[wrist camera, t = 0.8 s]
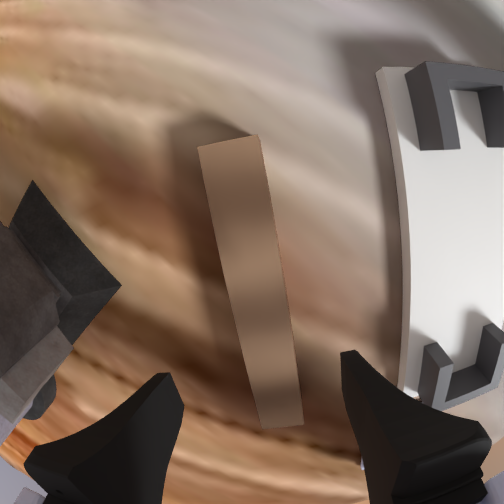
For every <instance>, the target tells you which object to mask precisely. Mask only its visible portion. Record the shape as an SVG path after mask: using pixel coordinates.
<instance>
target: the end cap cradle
mask: <svg viewBox="0 0 504 504" xmlns="http://www.w3.org/2000/svg"><path fill="white" fill-rule="evenodd" d="M375 74H376V78H377V82H378V86H379V90H380V94H381V99H382V103H383V108H384V112H385V117H386V122H387V127H388V133H389V138H390V144H391V150H392V157H393V163H394V170H395V178H396V186H397V195H398V204H399V215H400V228H401V244H402V272H403V309H402V336H401V352H400V365H399V375H398V385H397V388H398V389H400V390H401V391H403V392H404V393H406V394H407V395H409V396H410V397H412V398H413V397H416V396H420V398H421V400H422V402H423V404H425V405H428V406H430V407H432V408H434V409H437V410H439V411H443V410H446V409H449V408H451V407H454V406H456V405H459V404H461V403H464V402H466V401H468V400H471V399H473V398H475V397H478V396H480V395H482V394H484V393H487V392H489V391H491V390H493V389H495V388H497V387H498V385H499V382H500V379H501V376H502V373H503V370H504V332H503V331H502V325H503V320H504V72H503V71H498V70H492V69H487V68H481V67H474V66H467V65H459V64H450V63H440V62H427V61H425V62H423V63H422V64H420V65H418V66H417V67H382V68H381V69H379V70H378V71H377V72H376V73H375Z"/></svg>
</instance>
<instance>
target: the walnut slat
mask: <svg viewBox="0 0 504 504" xmlns="http://www.w3.org/2000/svg"><path fill="white" fill-rule="evenodd" d="M197 149H198V154H199V159H200V164H201V169H202V174H203V179H204V184H205V189H206V194H207V199H208V204H209V209H210V213H211V218H212V223H213V228H214V232H215V237H216V242H217V246H218V251H219V255H220V260H221V264H222V269H223V273H224V278H225V282H226V286H227V291H228V295H229V299H230V304H231V308H232V312H233V316H234V321H235V325H236V329H237V333H238V337H239V341H240V345H241V349H242V353H243V357H244V361H245V365H246V369H247V373H248V377H249V381H250V385H251V389H252V393H253V397H254V400H255V404H256V408H257V412H258V415H259V419H260V423H261V427H262V429H270V428H280V427H289V426H298V425H304V417H303V407H302V397H301V389H300V382H299V374H298V367H297V360H296V353H295V346H294V339H293V332H292V326H291V319H290V312H289V306H288V299H287V293H286V287H285V280H284V274H283V268H282V262H281V256H280V250H279V244H278V238H277V232H276V226H275V220H274V215H273V209H272V203H271V198H270V192H269V186H268V181H267V176H266V170H265V165H264V159H263V154H262V149H261V143H260V139H259V137H258V135H252V136H247V137H241V138H236V139H231V140H226V141H222V142H217V143H212V144H208V145H204V146H199V147H197Z"/></svg>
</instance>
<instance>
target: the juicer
mask: <svg viewBox="0 0 504 504" xmlns="http://www.w3.org/2000/svg"><path fill="white" fill-rule="evenodd" d="M121 286H122V285H121V284H120V283H119V282H118V281H117V280H116V279H115V278H114V277H113V275H112V274H111V273H110V272H109V271H108V270H107V269H106V268H105V267H104V266H103V265H102V264H101V263H100V261H99V260H98V259H97V258H96V257H95V256H94V255H93V254H92V253H91V251H90V250H89V249H88V248H87V247H86V246H85V245H84V243H83V242H82V241H81V240H80V239H79V238H78V236H77V235H76V234H75V233H74V232H73V231H72V229H71V228H70V227H69V226H68V225H67V223H66V222H65V221H64V220H63V218H62V217H61V216H60V215H59V214H58V212H57V211H56V210H55V209H54V207H53V206H52V205H51V203H50V202H49V201H48V200H47V198H46V197H45V196H44V194H43V193H42V192H41V190H40V189H39V188H38V186H37V185H36V184H35V182H34V181H33V180H32V182H31V184H30V185H29V187H28V189H27V191H26V193H25V195H24V197H23V199H22V201H21V203H20V205H19V207H18V209H17V211H16V213H15V215H14V217H13V219H12V221H11V223H10V226H9V228H8V227H4V226H3V224H2V223H1V221H0V446H1V445H2V443H3V442H4V441H5V439H6V438H7V437H8V436H9V434H10V433H11V432H12V430H13V429H14V428H15V427H16V425H17V424H18V423H19V422H20V420H21V419H22V418H25V419H29V420H35V419H38V418H40V417H41V416H42V415H43V413H44V412H45V411H46V410H47V408H48V407H49V406H50V405H51V403H52V402H53V400H54V398H55V397H56V381H55V377H54V373H55V371H56V370H57V369H58V368H59V366H60V365H61V364H62V362H63V361H64V360H65V359H66V357H67V356H68V355H69V354H70V352H71V351H72V350H73V349H74V348H73V346H72V345H73V344H74V342H75V341H76V340H77V338H78V337H79V336H80V335H81V333H82V332H83V331H84V330H85V329H86V327H87V326H88V325H89V324H90V322H91V321H92V320H93V319H94V318H95V316H96V315H97V314H98V313H99V312H100V310H101V309H102V308H103V307H104V306H105V304H106V303H107V302H108V301H109V300H110V299H111V297H112V296H113V295H114V294H115V293H116V292H117V290H118V289H119V288H120V287H121Z"/></svg>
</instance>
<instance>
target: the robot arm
mask: <svg viewBox="0 0 504 504" xmlns="http://www.w3.org/2000/svg"><path fill="white" fill-rule="evenodd" d="M340 356H341V378H342V392H343V397H344V401H345V406H346V410H347V413H348V416H349V419H350V422H351V425H352V428H353V431H354V434H355V437H356V439H357V442H358V445H359V448H360V452H361V456H362V457H361V469H362V470H365V475H366V481H367V487H368V493H369V500H370V504H504V471H503V472H501V473H499V474H497V475H496V476H494V477H492V478H491V479H489V480H488V481H487V482H486V483H485V484H484V483H483V481H482V479H481V478H482V477H483V472H482V470H481V468H480V466H481V465H482V463H483V461H484V460H485V458H486V456H487V455H488V453H489V451H490V448H491V446H492V441H491V439H490V437H489V436H488V434H487V432H486V431H485V429H484V428H483V427H482V426H481V424H480V423H479V422H478V421H474V420H470V419H465V418H461V417H457V416H454V415H450V414H447V413H444V412H442V411H439V410H437V409H434V408H432V407H430V406H428V405H425V404H423V402H419V401H417V400H415V399H414V398H412V397H410V396H409V395H407V394H406V393H404V392H403V391H401V390H400V389H398V388H397V387H396V386H394V385H393V384H392V383H390V382H389V381H388V380H387V379H385V378H384V377H383V376H382V375H381V374H380V373H379V372H377V371H376V370H375V369H374V368H373V367H372V366H371V365H370V364H369V363H368V362H367V361H366V360H365V359H364V358H363V357H362V356H361V355H360V354H359V353H358V351H356V350H351V351H346V352H341V353H340ZM183 411H184V404H183V402H182V399H181V397H180V395H179V393H178V390H177V388H176V386H175V383H174V381H173V378H172V376H171V374H170V373H157V374H156V375H154V376H153V377H152V378H151V379H150V380H149V381H147V382H146V383H145V384H144V385H143V386H142V387H141V388H140V389H139V390H137V391H136V392H135V393H134V394H133V395H132V396H131V397H129V398H128V399H127V400H126V401H125V402H123V403H122V404H121V405H120V406H118V407H117V408H116V409H115V410H113V411H112V412H111V413H109V414H108V415H107V416H105V417H104V418H102V419H100V420H99V421H97V422H96V423H94V424H92V425H91V426H89V427H87V428H85V429H83V430H81V431H79V432H77V433H75V434H72V435H70V436H68V437H65V438H62V439H60V440H57V441H54V442H50V443H46V444H42V445H38V446H35V447H34V449H33V450H32V452H31V453H30V455H29V456H28V458H27V459H26V461H25V462H24V467H25V470H26V471H27V473H28V474H29V475H30V476H31V477H32V478H33V479H34V480H35V481H36V482H37V483H38V484H39V485H40V486H41V487H42V488H43V489H44V490H45V491H46V492H47V493H48V495H47V496H46V498H45V497H43V496H42V495H40V494H38V493H36V492H34V491H32V490H30V489H28V488H26V487H24V488H23V489H22V491H21V493H20V494H19V496H18V498H17V499H16V501H15V502H14V504H162V496H163V489H164V483H165V477H166V472H167V468H168V464H169V461H170V458H171V455H172V452H173V449H174V446H175V443H176V440H177V436H178V433H179V430H180V427H181V423H182V418H183Z"/></svg>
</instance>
